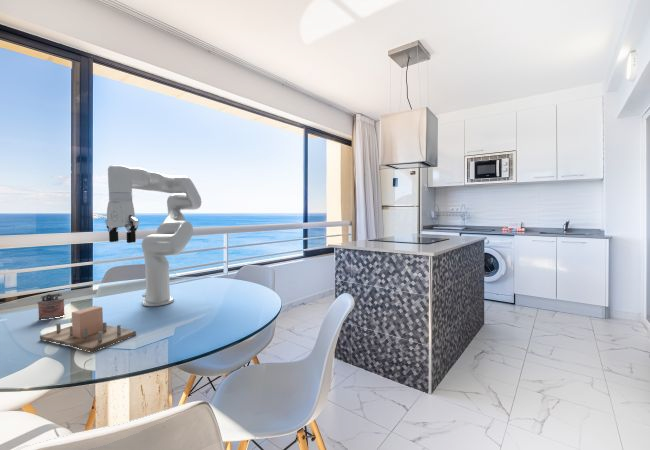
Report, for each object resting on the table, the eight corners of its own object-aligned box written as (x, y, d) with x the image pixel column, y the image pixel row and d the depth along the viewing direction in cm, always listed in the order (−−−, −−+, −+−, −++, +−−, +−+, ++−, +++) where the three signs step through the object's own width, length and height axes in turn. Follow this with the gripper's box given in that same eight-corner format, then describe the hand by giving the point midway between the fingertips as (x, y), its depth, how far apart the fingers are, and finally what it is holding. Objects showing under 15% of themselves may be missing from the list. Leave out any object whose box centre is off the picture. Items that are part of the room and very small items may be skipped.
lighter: (37, 321, 118) (35, 296, 117) (40, 318, 121) (38, 293, 120) (63, 318, 121) (62, 293, 121) (66, 315, 124) (65, 291, 124)
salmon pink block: (72, 336, 100) (71, 312, 99) (95, 328, 106) (94, 306, 106) (80, 338, 98) (79, 313, 98) (103, 330, 105) (102, 307, 104)
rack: (40, 340, 100) (39, 326, 100) (86, 325, 114) (85, 313, 113) (91, 353, 91) (91, 338, 91) (135, 335, 104) (135, 322, 104)
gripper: (95, 198, 118) (97, 242, 118) (127, 197, 111) (128, 243, 112) (115, 198, 125) (116, 240, 125) (145, 197, 118) (147, 241, 119)
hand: (122, 242), depth 119 cm, fingers open, 9 cm apart
